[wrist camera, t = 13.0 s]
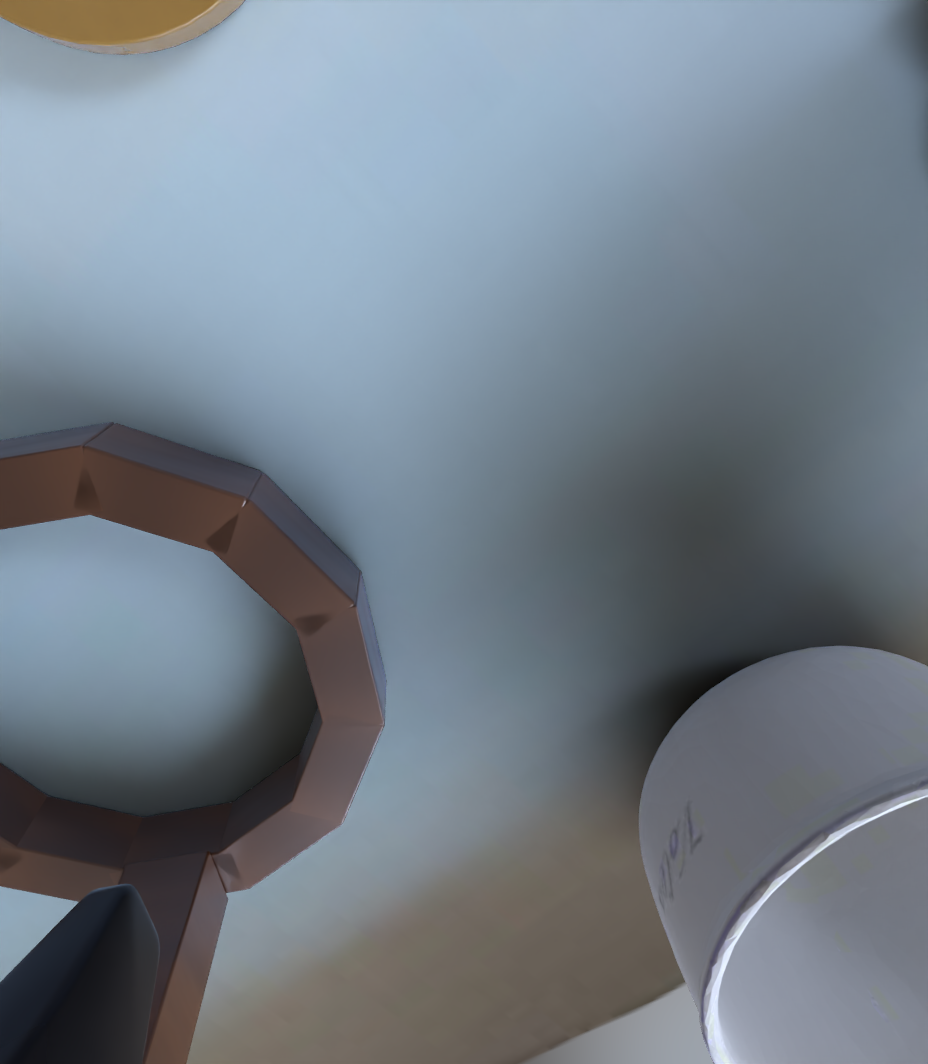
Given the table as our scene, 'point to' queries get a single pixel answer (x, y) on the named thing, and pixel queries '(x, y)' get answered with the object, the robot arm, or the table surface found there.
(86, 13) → the ring stand
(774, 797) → the teacup
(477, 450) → the table surface
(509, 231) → the table surface
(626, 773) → the table surface
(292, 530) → the ring
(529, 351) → the table surface
